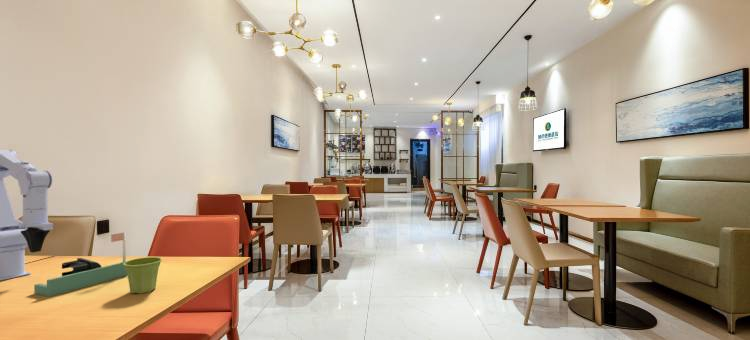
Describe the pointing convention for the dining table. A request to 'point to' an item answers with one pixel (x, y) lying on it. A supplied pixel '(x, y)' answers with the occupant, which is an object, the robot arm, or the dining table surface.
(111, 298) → the dining table surface
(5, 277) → the robot arm
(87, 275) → the putting pocket
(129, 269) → the plant pot
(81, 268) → the black plastic holder
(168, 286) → the dining table surface
